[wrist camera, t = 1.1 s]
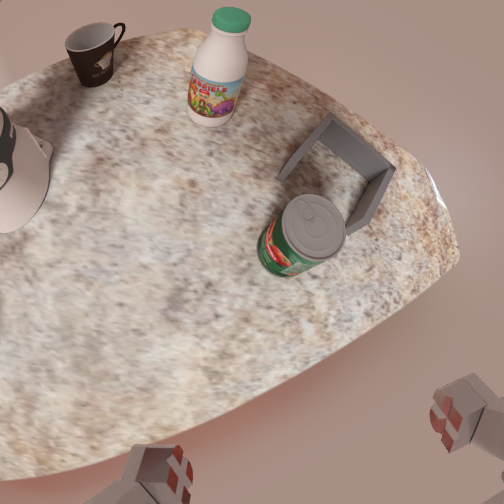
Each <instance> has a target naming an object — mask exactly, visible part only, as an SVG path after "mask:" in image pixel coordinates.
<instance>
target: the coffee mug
mask: <svg viewBox="0 0 504 504" xmlns="http://www.w3.org/2000/svg"><path fill="white" fill-rule="evenodd" d="M117 26H122V32H121V34H120V36H119V38H118V40H117V41H116V42H115V44H114V35H115V28H116V27H117ZM124 32H125V24H124V23H118V24H115V25H114V26H112V25H111V24H107V23H93V24H89V25H86V26H83V27H81V28H79V29H77V30H76V31H74V32H73V33H72V34H71V35H70V36H69V37H68V38H67V39H66V42H65V47H66V49H67V52H68V54H69V57H70V59H71V61H72V64H73V66H74V68H75V71H76V73H77V75H78V77H79V80H80V82H81V84H82V85H83V86H85V87H89V88H90V87H97V86H100V85H102V84H104V83H106V82H107V81H108V80H109V79H110V78H111V77H112V74H113V53H114V48H115V47H116V46H117V44H118V43H119V41H120V40H121V38H122V36H123V34H124Z"/></svg>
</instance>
